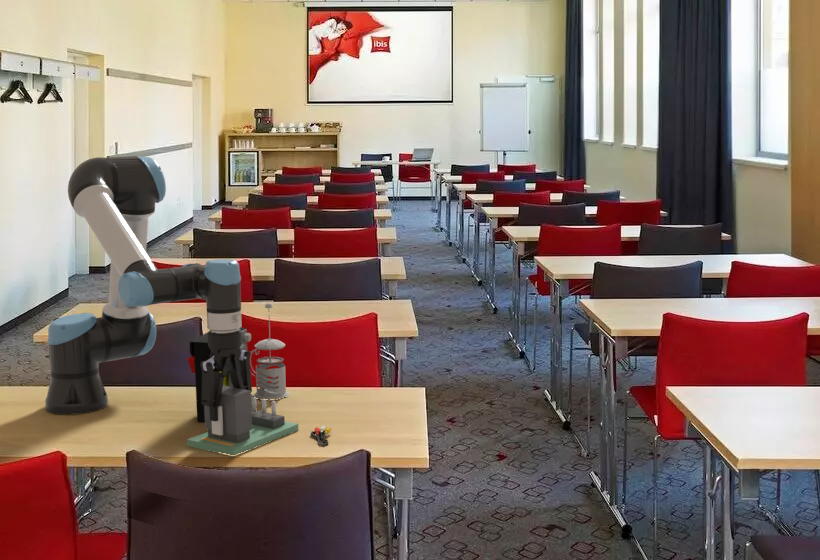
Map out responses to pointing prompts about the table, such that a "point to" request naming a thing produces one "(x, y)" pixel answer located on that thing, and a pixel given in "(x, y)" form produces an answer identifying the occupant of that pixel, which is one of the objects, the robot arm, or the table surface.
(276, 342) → the french press
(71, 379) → the robot arm
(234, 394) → the block
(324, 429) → the composite cable
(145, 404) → the table surface
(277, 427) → the header board
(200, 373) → the electrical component
